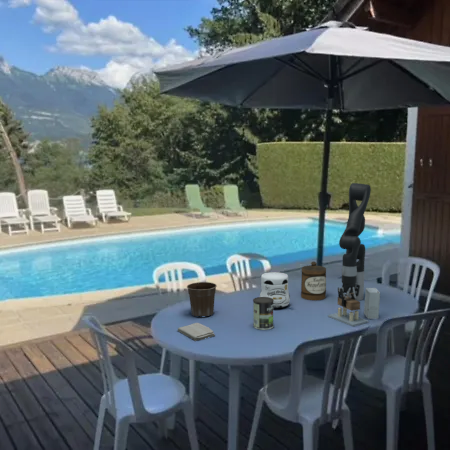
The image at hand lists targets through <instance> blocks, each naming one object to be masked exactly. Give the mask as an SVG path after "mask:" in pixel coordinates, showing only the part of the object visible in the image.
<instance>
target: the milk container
mask: <svg viewBox="0 0 450 450" xmlns="http://www.w3.org/2000/svg"><path fill="white" fill-rule="evenodd" d="M260 284H261V285H260V287H261V289H260V294H259V297H269V298H272V299H273V300H274V301H273V309H281V308H282V309H283V308H285V307H287V306H289V304H290V303H291V302H290V301H291V295H290V292H289V275H288V274H287V273H283V272H278V271H277V272H275V271H273V272H265V273H262V274H261V277H260Z"/></svg>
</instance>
